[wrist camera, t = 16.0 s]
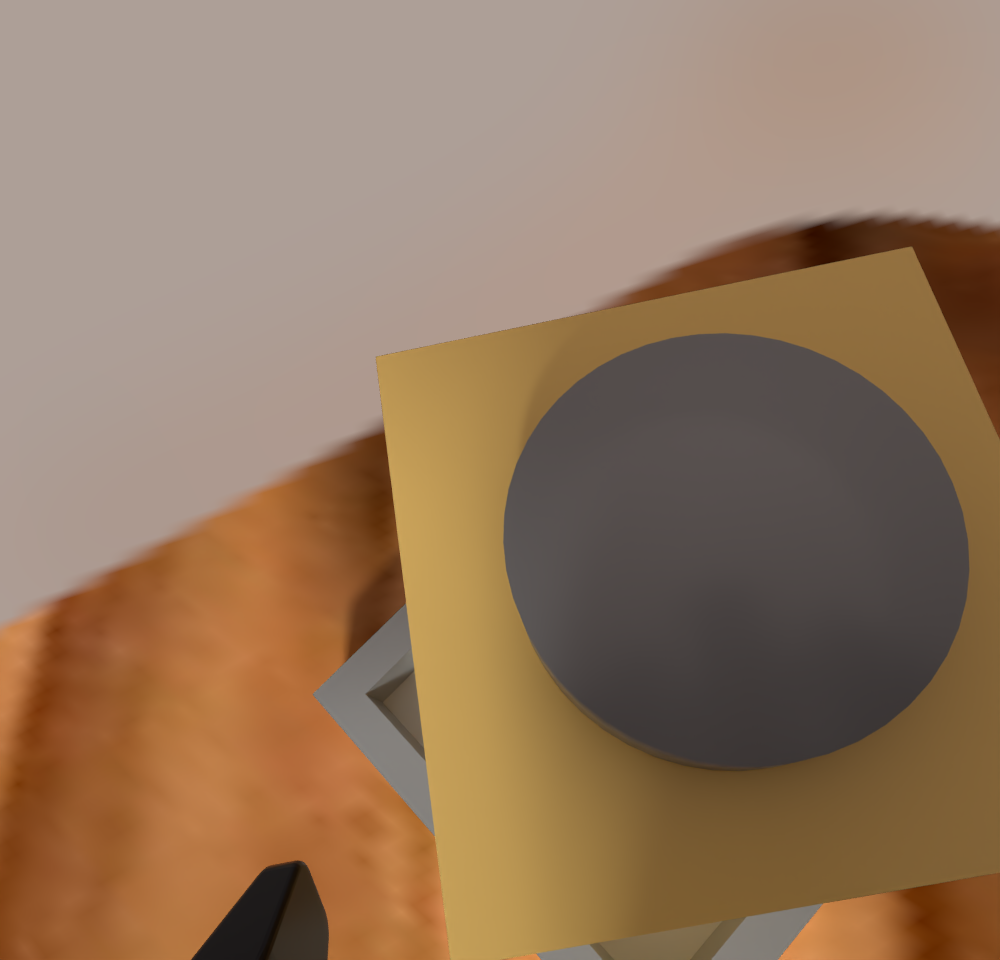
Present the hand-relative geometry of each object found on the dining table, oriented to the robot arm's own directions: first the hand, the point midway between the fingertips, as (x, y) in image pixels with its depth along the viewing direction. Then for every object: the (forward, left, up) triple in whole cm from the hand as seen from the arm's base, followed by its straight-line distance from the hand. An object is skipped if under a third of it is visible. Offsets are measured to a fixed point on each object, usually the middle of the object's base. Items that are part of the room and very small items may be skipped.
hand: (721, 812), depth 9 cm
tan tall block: (+1, +2, -9) cm, 9 cm away
